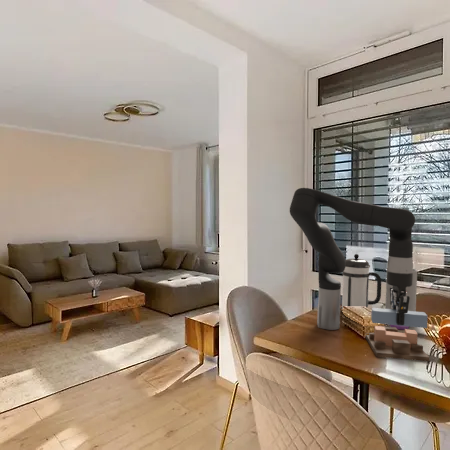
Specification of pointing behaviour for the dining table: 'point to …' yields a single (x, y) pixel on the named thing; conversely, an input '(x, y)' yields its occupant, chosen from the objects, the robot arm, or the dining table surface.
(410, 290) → the cylinder vase
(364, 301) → the coffee press
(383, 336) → the pink u-shaped block
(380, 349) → the jig
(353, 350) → the dining table surface
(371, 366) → the dining table surface
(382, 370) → the dining table surface
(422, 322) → the blue-grey rectangular bar
